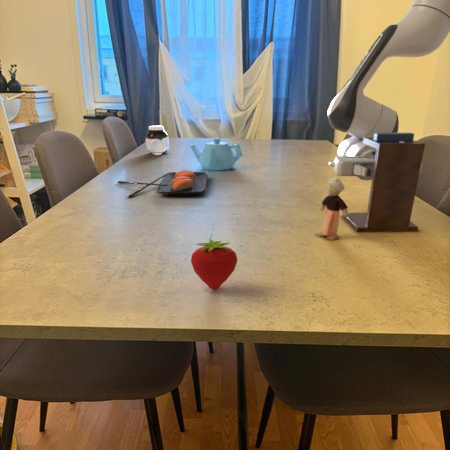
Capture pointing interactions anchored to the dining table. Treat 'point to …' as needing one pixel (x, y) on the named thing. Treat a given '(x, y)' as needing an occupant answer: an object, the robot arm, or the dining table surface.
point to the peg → (393, 137)
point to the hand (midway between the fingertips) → (388, 172)
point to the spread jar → (157, 140)
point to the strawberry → (214, 263)
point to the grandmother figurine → (333, 209)
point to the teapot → (217, 155)
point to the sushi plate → (178, 183)
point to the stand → (391, 187)
